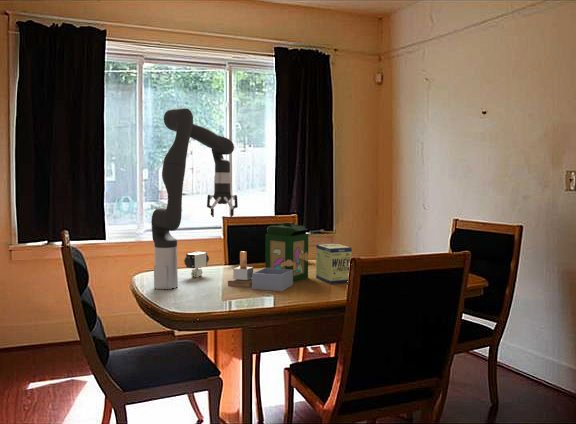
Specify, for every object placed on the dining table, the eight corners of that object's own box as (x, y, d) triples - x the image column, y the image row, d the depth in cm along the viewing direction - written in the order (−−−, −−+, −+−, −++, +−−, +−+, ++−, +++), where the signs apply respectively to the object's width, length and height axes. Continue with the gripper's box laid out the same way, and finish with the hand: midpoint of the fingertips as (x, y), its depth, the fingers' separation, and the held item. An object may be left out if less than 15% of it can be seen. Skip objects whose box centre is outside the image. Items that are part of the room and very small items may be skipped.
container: (292, 283, 244) (292, 226, 242) (260, 278, 255) (260, 223, 253) (311, 278, 256) (311, 223, 254) (280, 273, 267) (280, 221, 265)
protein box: (330, 284, 243) (330, 248, 242) (315, 277, 257) (315, 244, 256) (352, 282, 247) (352, 247, 245) (335, 276, 261) (336, 243, 260)
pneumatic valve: (209, 275, 262) (209, 249, 261) (191, 279, 252) (191, 252, 251) (200, 274, 265) (200, 248, 264) (182, 278, 256) (182, 251, 255)
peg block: (247, 280, 239) (247, 253, 238) (233, 279, 241) (233, 252, 240) (253, 277, 245) (253, 251, 244) (239, 276, 247) (239, 250, 246)
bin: (281, 291, 229) (281, 275, 228) (252, 288, 233) (252, 273, 233) (292, 284, 241) (292, 269, 241) (264, 282, 246) (264, 267, 245)
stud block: (249, 287, 237) (249, 272, 236) (227, 285, 240) (227, 271, 240) (258, 282, 246) (258, 268, 245) (237, 280, 249) (237, 267, 249)
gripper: (207, 182, 259) (206, 217, 260) (238, 182, 261) (237, 217, 262) (207, 182, 266) (206, 216, 267) (237, 182, 268) (236, 216, 269)
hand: (222, 217), depth 264 cm, fingers open, 8 cm apart
